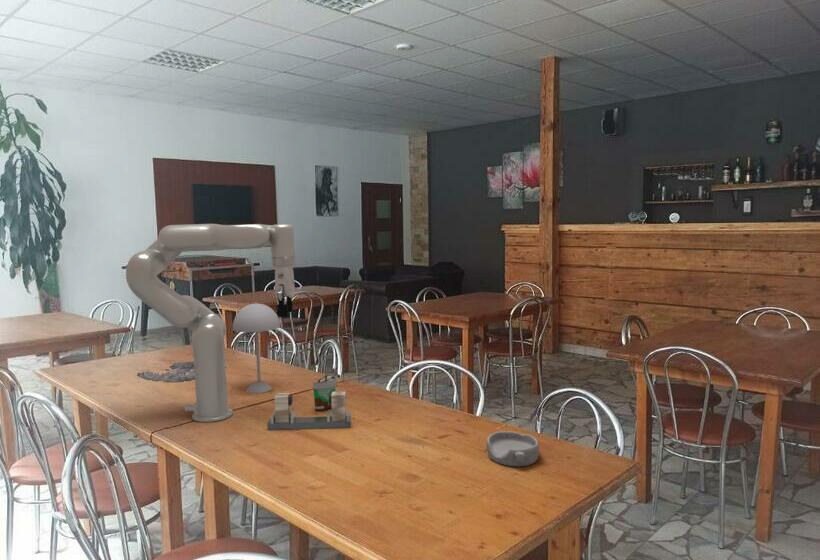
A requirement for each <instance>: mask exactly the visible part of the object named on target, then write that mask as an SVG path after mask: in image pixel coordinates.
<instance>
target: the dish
mask: <svg viewBox="0 0 820 560" xmlns="http://www.w3.org/2000/svg"><path fill="white" fill-rule="evenodd" d="M486 451H487V454H488V457H489V458H490V459H491V460H492V461H494V462H496V463H498V464H501V465H504V466H509V467H526V466H529V465H532V464H534V463H535V462H537V460H538V458H539V455H540V454H539V453H540V445H539V441H538V439H536V437H534V436H533V435H531V434H526V433H525V434H523V433H520V432H519V431H509V430H507V431H504V430H503V431H494V432H493V433H491V434H490V435H488V437H487V439H486Z"/></svg>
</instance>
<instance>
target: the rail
mask: <svg viewBox="0 0 820 560" xmlns="http://www.w3.org/2000/svg"><path fill="white" fill-rule="evenodd" d="M327 411H328V412H327V415H326V416H303V417H302V416H301V417H300V416H299V417H297V412H296V410H294V411H292V413H291V419H290V421H289V422H285V423H275V411H273V412H272V414H271V416H270V418H269V419H268V421H267V423H266V425H267V427H266V429H267V431H276V430H277V431H278V429H279V430H280V429H281V430H282V429H285V430H310V429H311V430H313V429H314V430H315V429H346V428H347V429H348V428H349V429H351V425H352V415H351V414H352V412H351V411H352V410H351V409H348V410H347V411H346V420H345V421H332V409H330V410H327Z"/></svg>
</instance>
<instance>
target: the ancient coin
mask: <svg viewBox="0 0 820 560" xmlns="http://www.w3.org/2000/svg"><path fill="white" fill-rule="evenodd" d="M176 363H177V364H176ZM172 364H173V362H172ZM169 368H171V369H172V370H173V371H170V370H169V369H165V370H166V371H169V372H166V373H165V374H164V373H162V374H161V375H159V373H157V374H156V373H154V374H153V372H149V371H147V372H143V373H139V372H138V373H137V375H136V376H137V377H138V376H139V377H138V378H140V377H141V378H140V379H142V378H143V380H147V381H150V380H152V381H151V382H158V381H163V382H162V383H185V382H184V381H187V382H193V381H195V369H194V361H181V362H174V364H173V365H172V366H170V367H169ZM175 371H176V372H175ZM170 372H173V373H170ZM174 372H175V373H174ZM192 380H193V381H192Z"/></svg>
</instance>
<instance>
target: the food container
mask: <svg viewBox="0 0 820 560" xmlns="http://www.w3.org/2000/svg"><path fill="white" fill-rule="evenodd" d="M337 385H338V379H337V377H336V375H334V374H330V373H324V377H322V378H319V379H318V381H317V382H315V381H314V382H313V383H312V390H313V400H314V401H313V402H314V410H315V411H314V412H324V411H325V410H326V411H329V410H332V405H329V394H332V392H336V386H337ZM326 411H325V412H326Z"/></svg>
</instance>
